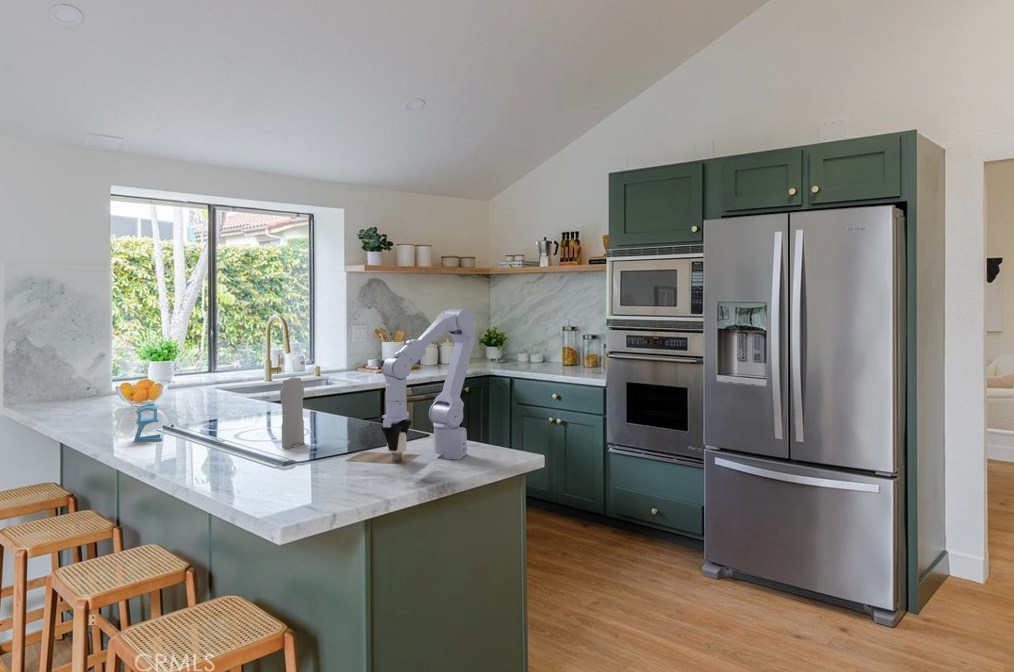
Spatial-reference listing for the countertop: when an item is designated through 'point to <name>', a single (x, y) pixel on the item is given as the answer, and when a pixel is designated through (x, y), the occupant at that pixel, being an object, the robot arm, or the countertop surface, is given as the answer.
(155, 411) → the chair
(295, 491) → the countertop surface
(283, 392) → the tall pale column
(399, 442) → the cap
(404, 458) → the post board
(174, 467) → the countertop surface
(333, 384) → the countertop surface
